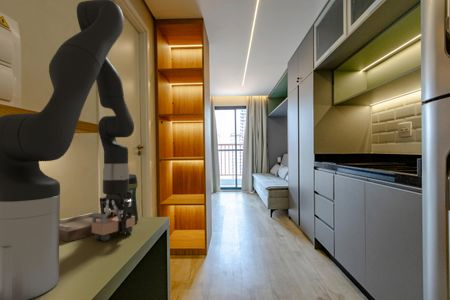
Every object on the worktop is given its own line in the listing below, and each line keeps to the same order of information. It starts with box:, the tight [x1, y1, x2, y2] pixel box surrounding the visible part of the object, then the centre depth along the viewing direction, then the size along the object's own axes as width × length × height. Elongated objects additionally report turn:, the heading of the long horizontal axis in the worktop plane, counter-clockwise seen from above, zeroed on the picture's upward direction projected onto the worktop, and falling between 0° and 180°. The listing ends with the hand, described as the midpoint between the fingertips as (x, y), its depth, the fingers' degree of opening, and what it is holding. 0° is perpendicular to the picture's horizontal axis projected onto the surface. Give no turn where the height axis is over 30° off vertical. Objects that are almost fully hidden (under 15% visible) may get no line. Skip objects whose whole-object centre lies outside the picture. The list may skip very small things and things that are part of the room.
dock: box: [59, 212, 101, 243], centre depth 77 cm, size 15×12×4 cm
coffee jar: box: [113, 173, 139, 224], centre depth 86 cm, size 10×8×19 cm
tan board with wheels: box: [91, 211, 136, 243], centre depth 71 cm, size 11×6×8 cm, turn 151°
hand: (115, 231), depth 72 cm, fingers closed on tan board with wheels, 5 cm apart
